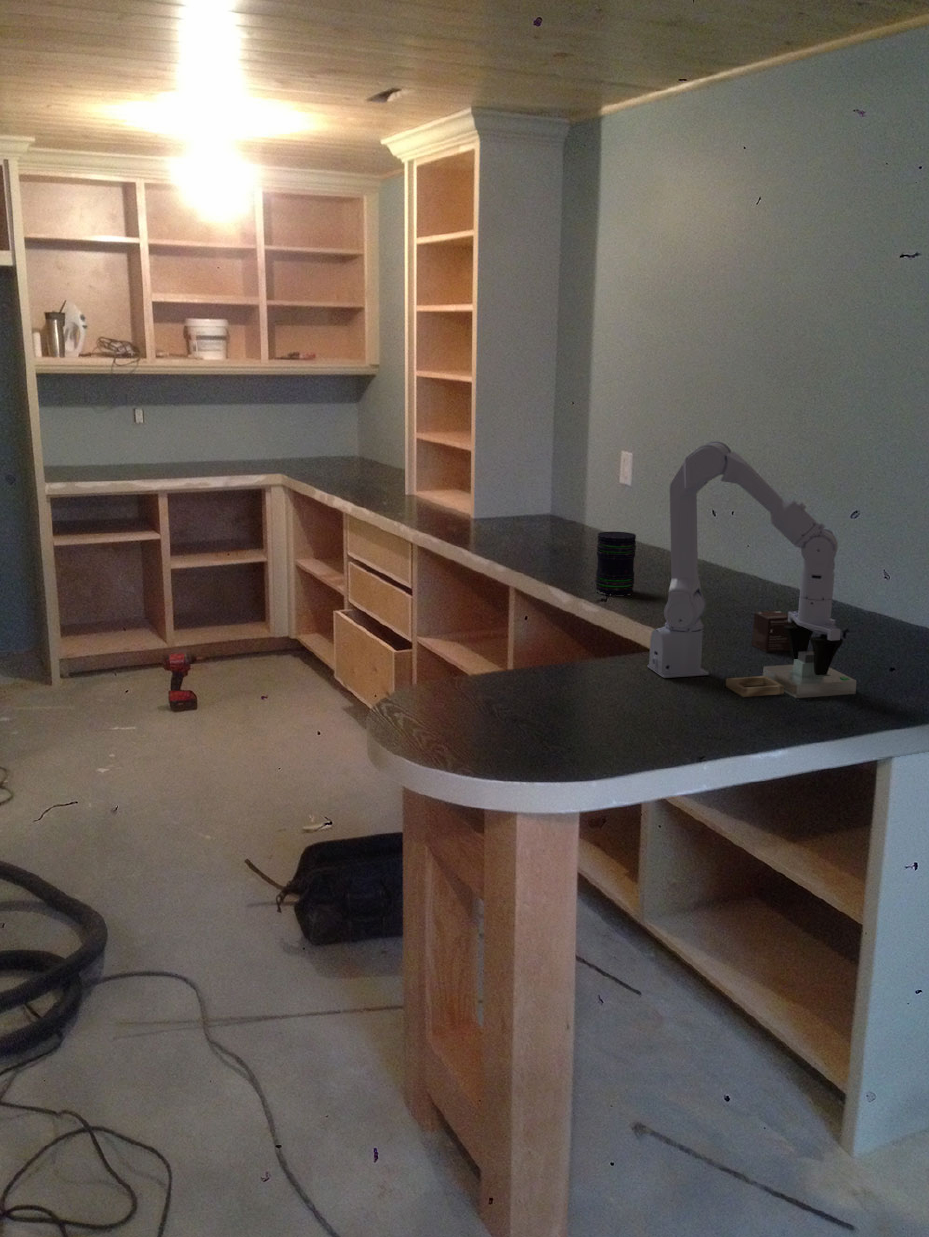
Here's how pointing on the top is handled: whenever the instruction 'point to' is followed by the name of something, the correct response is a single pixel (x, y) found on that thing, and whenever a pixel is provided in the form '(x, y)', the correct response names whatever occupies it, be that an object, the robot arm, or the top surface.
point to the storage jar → (615, 562)
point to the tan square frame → (768, 688)
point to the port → (811, 682)
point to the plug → (805, 665)
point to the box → (770, 631)
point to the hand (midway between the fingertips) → (809, 668)
